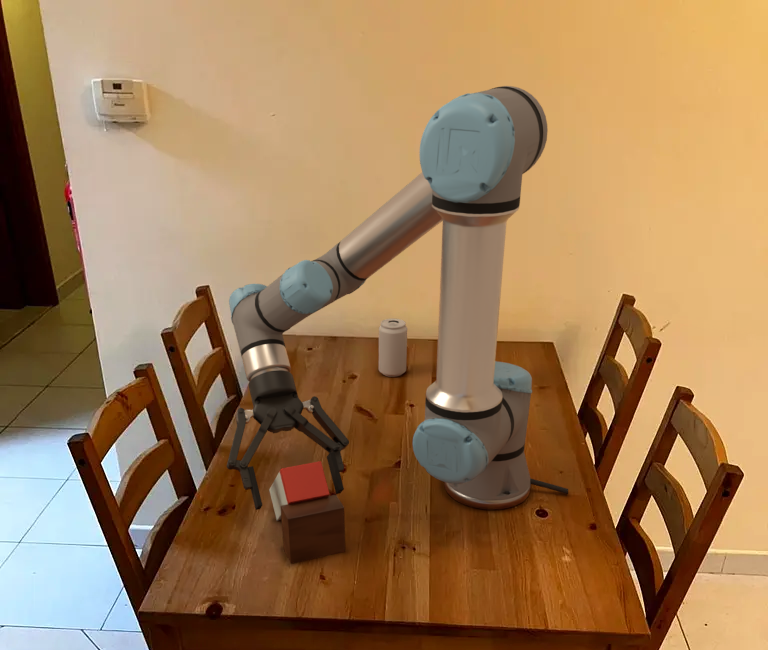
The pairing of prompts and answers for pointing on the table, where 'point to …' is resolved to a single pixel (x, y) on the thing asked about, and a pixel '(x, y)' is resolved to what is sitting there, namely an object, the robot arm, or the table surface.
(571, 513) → the table surface
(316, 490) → the red-faced cream slab
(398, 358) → the beverage can
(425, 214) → the robot arm
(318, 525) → the walnut box
